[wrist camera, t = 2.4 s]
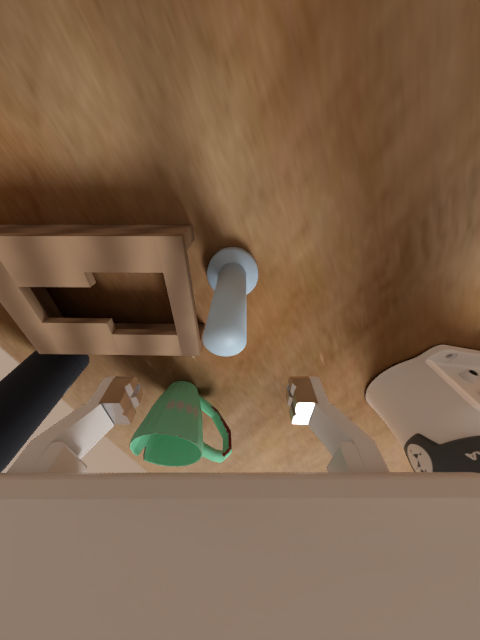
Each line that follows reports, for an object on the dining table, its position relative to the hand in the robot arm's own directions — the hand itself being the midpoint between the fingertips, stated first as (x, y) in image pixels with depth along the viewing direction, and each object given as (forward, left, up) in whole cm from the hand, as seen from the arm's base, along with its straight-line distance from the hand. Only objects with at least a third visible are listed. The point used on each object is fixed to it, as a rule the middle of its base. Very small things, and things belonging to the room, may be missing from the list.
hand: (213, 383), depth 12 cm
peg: (0, 0, -16) cm, 16 cm away
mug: (+7, +23, -16) cm, 29 cm away
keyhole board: (+14, +2, -16) cm, 21 cm away
